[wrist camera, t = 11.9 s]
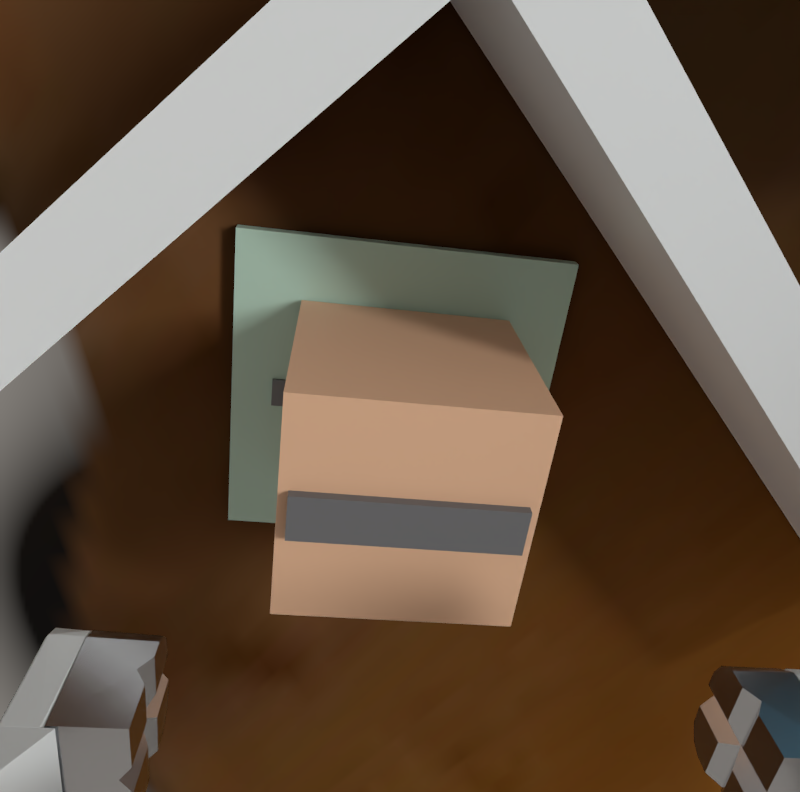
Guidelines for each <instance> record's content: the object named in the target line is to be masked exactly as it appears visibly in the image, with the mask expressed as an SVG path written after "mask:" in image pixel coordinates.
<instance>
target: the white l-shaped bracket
mask: <svg viewBox="0 0 800 792" xmlns="http://www.w3.org/2000/svg"><path fill="white" fill-rule="evenodd" d="M449 1H450V2H451V4H452V5H453V7H454V8H455V10H456V11H457V13H458V14H459V16H460V17H461V19H462V20H463V22H464V24H465V25H466V27H467V28H468V30H469V31H470V33H471V34H472V36H473V37H474V39H475V40H476V42H477V44H478V45H479V47H480V48H481V50H482V51H483V53H484V54H485V56H486V57H487V59H488V60H489V62H490V63H491V65H492V67H493V68H494V70H495V71H496V73H497V74H498V76H499V77H500V79H501V80H502V82H503V83H504V85H505V87H506V88H507V90H508V91H509V93H510V94H511V96H512V97H513V99H514V100H515V102H516V103H517V105H518V106H519V108H520V110H521V111H522V113H523V114H524V116H525V117H526V119H527V120H528V122H529V123H530V125H531V126H532V128H533V130H534V131H535V133H536V134H537V136H538V137H539V139H540V140H541V142H542V143H543V145H544V146H545V148H546V149H547V151H548V153H549V154H550V156H551V157H552V159H553V160H554V162H555V163H556V165H557V166H558V168H559V169H560V171H561V173H562V174H563V176H564V177H565V179H566V180H567V182H568V183H569V185H570V186H571V188H572V189H573V191H574V192H575V194H576V196H577V197H578V199H579V200H580V202H581V203H582V205H583V206H584V208H585V209H586V211H587V212H588V214H589V216H590V217H591V219H592V220H593V222H594V223H595V225H596V226H597V228H598V229H599V231H600V232H601V234H602V235H603V237H604V239H605V240H606V242H607V243H608V245H609V246H610V248H611V249H612V251H613V252H614V254H615V255H616V257H617V258H618V260H619V262H620V263H621V265H622V266H623V268H624V269H625V271H626V272H627V274H628V275H629V277H630V278H631V280H632V282H633V283H634V285H635V286H636V288H637V289H638V291H639V292H640V294H641V295H642V297H643V298H644V300H645V301H646V303H647V305H648V306H649V308H650V309H651V311H652V312H653V314H654V315H655V317H656V318H657V320H658V321H659V323H660V325H661V326H662V328H663V329H664V331H665V332H666V334H667V335H668V337H669V338H670V340H671V341H672V343H673V344H674V346H675V348H676V349H677V351H678V352H679V354H680V355H681V357H682V358H683V360H684V361H685V363H686V364H687V366H688V368H689V369H690V371H691V372H692V374H693V375H694V377H695V378H696V380H697V381H698V383H699V384H700V386H701V387H702V389H703V391H704V392H705V394H706V395H707V397H708V398H709V400H710V401H711V403H712V404H713V406H714V407H715V409H716V411H717V412H718V414H719V415H720V417H721V418H722V420H723V421H724V423H725V424H726V426H727V427H728V429H729V430H730V432H731V434H732V435H733V437H734V438H735V440H736V441H737V443H738V444H739V446H740V447H741V449H742V450H743V452H744V454H745V455H746V457H747V458H748V460H749V461H750V463H751V464H752V466H753V467H754V469H755V470H756V472H757V473H758V475H759V477H760V478H761V480H762V481H763V483H764V484H765V486H766V487H767V489H768V490H769V492H770V493H771V495H772V497H773V498H774V500H775V501H776V503H777V504H778V506H779V507H780V509H781V510H782V512H783V513H784V515H785V516H786V518H787V520H788V521H789V523H790V524H791V526H792V527H793V529H794V530H795V532H796V533H797V535H798V536H799V538H800V285H799V284H798V282H797V280H796V278H795V276H794V274H793V272H792V270H791V269H790V267H789V265H788V263H787V261H786V259H785V257H784V256H783V254H782V252H781V250H780V248H779V246H778V244H777V242H776V241H775V239H774V237H773V235H772V233H771V231H770V229H769V228H768V226H767V224H766V222H765V220H764V218H763V216H762V215H761V213H760V211H759V209H758V207H757V205H756V203H755V201H754V200H753V198H752V196H751V194H750V192H749V190H748V188H747V187H746V185H745V183H744V181H743V179H742V177H741V175H740V173H739V172H738V170H737V168H736V166H735V164H734V162H733V160H732V159H731V157H730V155H729V153H728V151H727V149H726V147H725V145H724V144H723V142H722V140H721V138H720V136H719V134H718V132H717V131H716V129H715V127H714V125H713V123H712V121H711V119H710V117H709V116H708V114H707V112H706V110H705V108H704V106H703V104H702V103H701V101H700V99H699V97H698V95H697V93H696V91H695V89H694V88H693V86H692V84H691V82H690V80H689V78H688V76H687V75H686V73H685V71H684V69H683V67H682V65H681V63H680V62H679V60H678V58H677V56H676V54H675V52H674V50H673V48H672V47H671V45H670V43H669V41H668V39H667V37H666V35H665V34H664V32H663V30H662V28H661V26H660V24H659V22H658V20H657V19H656V17H655V15H654V13H653V11H652V9H651V7H650V6H649V4H648V2H647V0H270V1H269V2H268V3H267V4H266V5H265V6H264V7H263V8H262V9H261V10H260V11H259V12H258V13H256V14H255V15H254V16H253V17H252V18H251V19H250V20H249V21H248V22H247V23H246V24H245V25H244V26H243V27H241V28H240V29H239V30H238V31H237V32H236V33H235V34H234V35H233V36H232V37H231V38H230V39H229V40H228V41H226V42H225V43H224V44H223V45H222V46H221V47H220V48H219V49H218V50H217V51H216V52H215V53H214V54H213V55H211V56H210V57H209V58H208V59H207V60H206V61H205V62H204V63H203V64H202V65H201V66H200V67H199V68H198V69H196V70H195V71H194V72H193V73H192V74H191V75H190V76H189V77H188V78H187V79H186V80H185V81H184V82H183V83H181V84H180V85H179V86H178V87H177V88H176V89H175V90H174V91H173V92H172V93H171V94H170V95H169V96H168V97H166V98H165V99H164V100H163V101H162V102H161V103H160V104H159V105H158V106H157V107H156V108H155V109H154V110H153V111H151V112H150V113H149V114H148V115H147V116H146V117H145V118H144V119H143V120H142V121H141V122H140V123H139V124H138V125H136V126H135V127H134V128H133V129H132V130H131V131H130V132H129V133H128V134H127V135H126V136H125V137H124V138H123V139H121V140H120V141H119V142H118V143H117V144H116V145H115V146H114V147H113V148H112V149H111V150H110V151H109V152H107V153H106V154H105V155H104V156H103V157H102V158H101V159H100V160H99V161H98V162H97V163H96V164H95V165H94V166H92V167H91V168H90V169H89V170H88V171H87V172H86V173H85V174H84V175H83V176H82V177H81V178H80V179H79V180H77V181H76V182H75V183H74V184H73V185H72V186H71V187H70V188H69V189H68V190H67V191H66V192H65V193H64V194H62V195H61V196H60V197H59V198H58V199H57V200H56V201H55V202H54V203H53V204H52V205H51V206H50V207H49V208H47V209H46V210H45V211H44V212H43V213H42V214H41V215H40V216H39V217H38V218H37V219H36V220H35V221H34V222H32V223H31V224H30V225H29V226H28V227H27V228H26V229H25V230H24V231H23V232H22V233H21V234H20V235H19V236H17V237H16V238H15V239H14V240H13V241H12V242H11V243H10V244H9V245H8V246H7V247H6V248H5V249H4V250H2V251H1V252H0V391H1V390H2V389H3V388H4V387H5V386H6V385H7V384H9V383H10V382H11V381H12V380H13V379H15V378H16V377H17V376H18V375H19V374H20V373H21V372H22V371H24V370H25V369H26V368H27V367H28V366H29V365H31V364H32V363H33V362H34V361H35V360H36V359H38V358H39V357H40V356H41V355H42V354H43V353H45V352H46V351H47V350H48V349H49V348H50V347H51V346H53V345H54V344H55V343H56V342H57V341H58V340H59V339H61V338H62V337H63V336H64V335H65V334H66V333H68V332H69V331H70V330H71V329H72V328H73V327H74V326H76V325H77V324H78V323H79V322H80V321H81V320H83V319H84V318H85V317H86V316H87V315H88V314H89V313H91V312H92V311H93V310H94V309H95V308H96V307H98V306H99V305H100V304H101V303H102V302H103V301H104V300H106V299H107V298H108V297H109V296H110V295H111V294H113V293H114V292H115V291H116V290H117V289H118V288H119V287H121V286H122V285H123V284H124V283H125V282H126V281H128V280H129V279H130V278H131V277H132V276H133V275H134V274H136V273H137V272H138V271H139V270H140V269H141V268H143V267H144V266H145V265H146V264H147V263H148V262H149V261H151V260H152V259H153V258H154V257H155V256H156V255H158V254H159V253H160V252H161V251H162V250H163V249H164V248H166V247H167V246H168V245H169V244H170V243H171V242H173V241H174V240H175V239H176V238H177V237H178V236H179V235H181V234H182V233H183V232H184V231H185V230H186V229H188V228H189V227H190V226H191V225H192V224H193V223H194V222H196V221H197V220H198V219H199V218H200V217H201V216H202V215H204V214H205V213H206V212H207V211H208V210H209V209H211V208H212V207H213V206H214V205H215V204H216V203H217V202H219V201H220V200H221V199H222V198H223V197H224V196H226V195H227V194H228V193H229V192H230V191H231V190H232V189H234V188H235V187H236V186H237V185H238V184H239V183H241V182H242V181H243V180H244V179H245V178H246V177H247V176H249V175H250V174H251V173H252V172H253V171H254V170H256V169H257V168H258V167H259V166H260V165H261V164H262V163H264V162H265V161H266V160H267V159H268V158H269V157H271V156H272V155H273V154H274V153H275V152H276V151H277V150H279V149H280V148H281V147H282V146H283V145H284V144H286V143H287V142H288V141H289V140H290V139H291V138H292V137H294V136H295V135H296V134H297V133H298V132H299V131H301V130H302V129H303V128H304V127H305V126H306V125H307V124H309V123H310V122H311V121H312V120H313V119H314V118H316V117H317V116H318V115H319V114H320V113H321V112H322V111H324V110H325V109H326V108H327V107H328V106H329V105H331V104H332V103H333V102H334V101H335V100H336V99H337V98H339V97H340V96H341V95H342V94H343V93H344V92H345V91H347V90H348V89H349V88H350V87H351V86H352V85H354V84H355V83H356V82H357V81H358V80H359V79H360V78H362V77H363V76H364V75H365V74H366V73H367V72H369V71H370V70H371V69H372V68H373V67H374V66H375V65H377V64H378V63H379V62H380V61H381V60H382V59H384V58H385V57H386V56H387V55H388V54H389V53H390V52H392V51H393V50H394V49H395V48H396V47H397V46H399V45H400V44H401V43H402V42H403V41H404V40H405V39H407V38H408V37H409V36H410V35H411V34H412V33H414V32H415V31H416V30H417V29H418V28H419V27H420V26H422V25H423V24H424V23H425V22H426V21H427V20H429V19H430V18H431V17H432V16H433V15H434V14H435V13H437V12H438V11H439V10H440V9H441V8H442V7H444V6H445V5H446V4H447V3H448V2H449ZM578 266H579V265H578V264H577V263H576V262H575V261H567V260H558V259H549V258H540V257H530V256H521V255H512V254H503V253H494V252H485V251H476V250H466V249H457V248H448V247H439V246H430V245H421V244H412V243H402V242H393V241H384V240H375V239H366V238H357V237H348V236H338V235H329V234H320V233H311V232H302V231H293V230H284V229H274V228H265V227H256V226H247V225H237V226H236V236H235V274H234V312H233V350H232V388H231V427H230V465H229V503H228V520H238V521H253V522H268V523H276V506H277V490H278V474H279V457H280V441H281V424H282V408H283V392H284V387H285V382H286V377H287V372H288V367H289V361H290V356H291V351H292V346H293V341H294V336H295V331H296V326H297V321H298V316H299V311H300V305H301V300H307V301H317V302H327V303H337V304H347V305H357V306H367V307H377V308H387V309H398V310H408V311H418V312H428V313H438V314H448V315H458V316H468V317H478V318H488V319H498V320H508V321H510V323H511V325H512V327H513V328H514V330H515V332H516V334H517V336H518V337H519V339H520V341H521V343H522V344H523V346H524V348H525V350H526V351H527V353H528V355H529V357H530V358H531V360H532V362H533V364H534V365H535V367H536V369H537V371H538V373H539V374H540V376H541V378H542V380H543V381H544V383H545V385H546V387H547V388H548V390H549V389H550V385H551V380H552V376H553V372H554V368H555V363H556V359H557V355H558V351H559V347H560V342H561V338H562V334H563V330H564V325H565V321H566V317H567V313H568V308H569V304H570V300H571V296H572V292H573V287H574V283H575V279H576V275H577V270H578Z"/></svg>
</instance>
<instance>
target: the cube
mask: <svg viewBox="0 0 800 792" xmlns="http://www.w3.org/2000/svg"><path fill="white" fill-rule="evenodd" d="M562 419H563V415H562V413H561V411H560V409H559V408H558V406H557V404H556V402H555V401H554V399H553V397H552V395H551V394H550V392H549V390H548V388H547V387H546V385H545V383H544V381H543V380H542V378H541V376H540V374H539V373H538V371H537V369H536V367H535V365H534V364H533V362H532V360H531V358H530V357H529V355H528V353H527V351H526V350H525V348H524V346H523V344H522V343H521V341H520V339H519V337H518V336H517V334H516V332H515V330H514V328H513V327H512V325H511V323H510V321H508V320H498V319H488V318H478V317H468V316H458V315H448V314H438V313H428V312H418V311H408V310H398V309H387V308H377V307H367V306H357V305H347V304H337V303H327V302H317V301H307V300H301V305H300V311H299V316H298V321H297V326H296V331H295V336H294V341H293V346H292V351H291V356H290V361H289V367H288V372H287V377H286V382H285V387H284V392H283V408H282V424H281V441H280V457H279V474H278V490H277V506H276V523H275V539H274V556H273V572H272V589H271V605H270V614H281V615H300V616H319V617H339V618H358V619H377V620H396V621H415V622H434V623H453V624H472V625H491V626H511V623H512V619H513V615H514V611H515V607H516V603H517V599H518V595H519V591H520V587H521V583H522V579H523V575H524V571H525V567H526V563H527V559H528V555H529V551H530V547H531V543H532V539H533V535H534V531H535V527H536V523H537V519H538V515H539V511H540V507H541V503H542V499H543V495H544V491H545V487H546V483H547V479H548V475H549V471H550V467H551V463H552V459H553V455H554V451H555V447H556V443H557V439H558V435H559V431H560V427H561V423H562Z"/></svg>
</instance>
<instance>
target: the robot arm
mask: <svg viewBox="0 0 800 792" xmlns="http://www.w3.org/2000/svg"><path fill="white" fill-rule="evenodd" d="M167 657H168V651H167V638H166V637H164V636H160V635H148V634H135V633H123V632H110V631H97V630H92V631H87V630H75V629H63V628H55V629H54V630H53V631H52V632H51V633H49V634H48V635H47V636H46V638H45V640H44V641H43V643H42V645H41V647H40V649H39V651H38V653H37V654H36V656H35V658H34V660H33V662H32V664H31V665H30V667H29V669H28V671H27V673H26V675H25V676H24V678H23V680H22V682H21V684H20V686H19V687H18V689H17V691H16V693H15V695H14V697H13V699H12V700H11V702H10V704H9V706H8V708H7V710H6V711H5V713H4V715H3V717H2V719H1V720H0V792H146V789H147V785H148V782H149V759H148V758H150V757H151V756H152V755H153V754H154V753H155V752H156V751H157V750H158V748H159V744H160V741H161V737H162V734H163V730H164V724H165V719H166V713H167V707H168V694H169V684H168V678H167V677H166V676H165V675H164V674H163V670H164V667H165V663H166V660H167ZM709 686H710V688H711V690H712V692H713V694H714V696H713V697H711V698H710V699H709V700H707V701H706V702H704V703H703V704H702V705H700V707H699V710H698V712H697V715H696V718H695V721H694V743H695V747H696V751H697V755H698V758H699V760H700V762H701V764H702V767H703V769H704V771H705V773H706V774H707V775H709V776H710V777H711V778H712V779H713V780H714V781H716V782H717V783H718V784H719V785H720V786H721V787H722V789H721V792H800V669H784V670H783V669H777V668H754V667H732V666H721V667H720V668H718V669H717V670H716V671H715V672H714V673H713V676H712V678H711V680H710V683H709Z"/></svg>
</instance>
